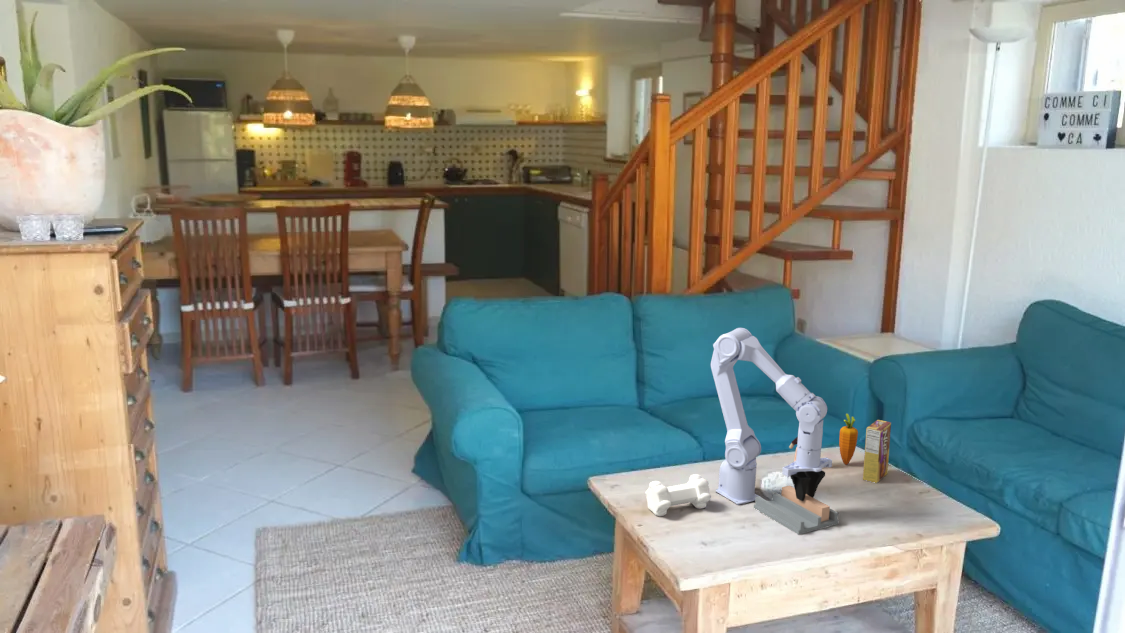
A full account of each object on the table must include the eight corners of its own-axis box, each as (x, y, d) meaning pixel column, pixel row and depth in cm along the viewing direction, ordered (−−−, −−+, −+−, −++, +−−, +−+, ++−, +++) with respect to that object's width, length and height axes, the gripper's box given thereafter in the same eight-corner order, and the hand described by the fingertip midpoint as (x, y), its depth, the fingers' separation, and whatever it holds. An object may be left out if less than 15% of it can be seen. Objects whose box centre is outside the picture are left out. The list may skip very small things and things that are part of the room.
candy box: (872, 470, 242) (877, 419, 239) (887, 474, 239) (893, 422, 236) (861, 479, 235) (866, 427, 232) (876, 483, 232) (882, 430, 229)
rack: (753, 508, 216) (754, 497, 215) (792, 498, 222) (793, 488, 221) (798, 534, 202) (799, 522, 201) (838, 523, 208) (839, 512, 207)
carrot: (855, 468, 243) (860, 418, 239) (837, 467, 244) (842, 417, 240) (853, 462, 247) (858, 413, 244) (835, 460, 248) (840, 411, 245)
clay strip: (781, 500, 218) (781, 487, 218) (788, 498, 220) (789, 485, 219) (821, 521, 206) (822, 508, 206) (828, 519, 207) (829, 506, 207)
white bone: (659, 522, 208) (662, 493, 206) (642, 505, 216) (645, 476, 214) (711, 512, 214) (714, 483, 212) (692, 496, 222) (696, 468, 220)
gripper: (798, 456, 203) (794, 509, 206) (843, 447, 209) (838, 498, 212) (778, 447, 209) (774, 498, 212) (821, 438, 215) (817, 488, 218)
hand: (804, 498), depth 212 cm, fingers closed on clay strip, 2 cm apart
